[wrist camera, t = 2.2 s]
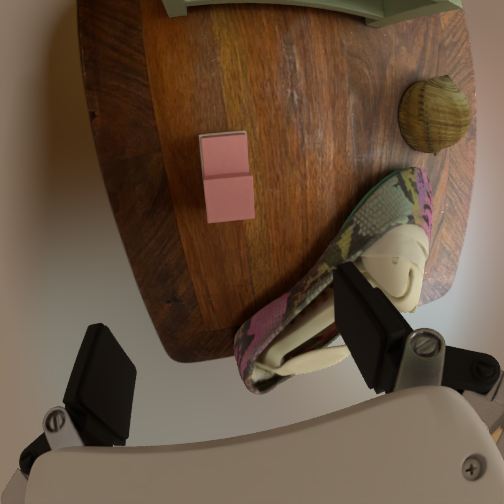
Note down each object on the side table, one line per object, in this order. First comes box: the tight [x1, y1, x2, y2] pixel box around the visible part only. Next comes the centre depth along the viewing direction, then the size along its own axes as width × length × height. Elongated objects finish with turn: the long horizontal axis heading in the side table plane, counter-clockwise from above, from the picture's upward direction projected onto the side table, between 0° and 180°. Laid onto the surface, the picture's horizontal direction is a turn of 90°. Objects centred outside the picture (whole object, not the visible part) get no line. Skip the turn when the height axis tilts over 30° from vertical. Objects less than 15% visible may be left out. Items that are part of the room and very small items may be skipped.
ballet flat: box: [234, 167, 433, 394], centre depth 27 cm, size 10×30×11 cm, turn 136°
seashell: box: [398, 75, 471, 156], centre depth 23 cm, size 10×7×8 cm
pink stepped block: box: [199, 130, 255, 223], centre depth 23 cm, size 7×4×4 cm, turn 3°
